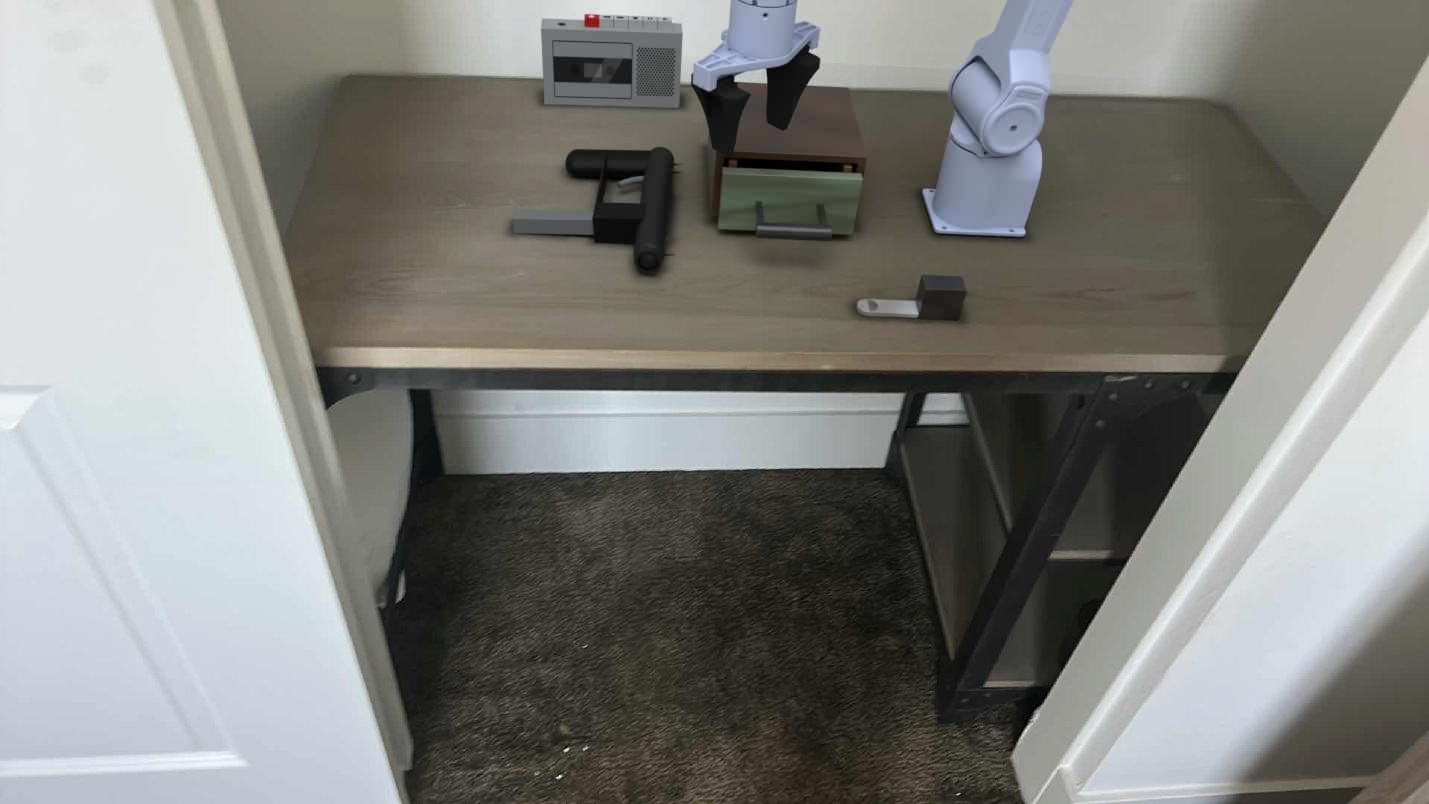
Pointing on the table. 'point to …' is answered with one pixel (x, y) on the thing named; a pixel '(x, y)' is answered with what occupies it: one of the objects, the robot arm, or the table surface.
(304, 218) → the table surface
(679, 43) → the cassette player
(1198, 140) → the table surface
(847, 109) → the cabinet
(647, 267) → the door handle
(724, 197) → the drawer
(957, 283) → the grey sheathed bar
